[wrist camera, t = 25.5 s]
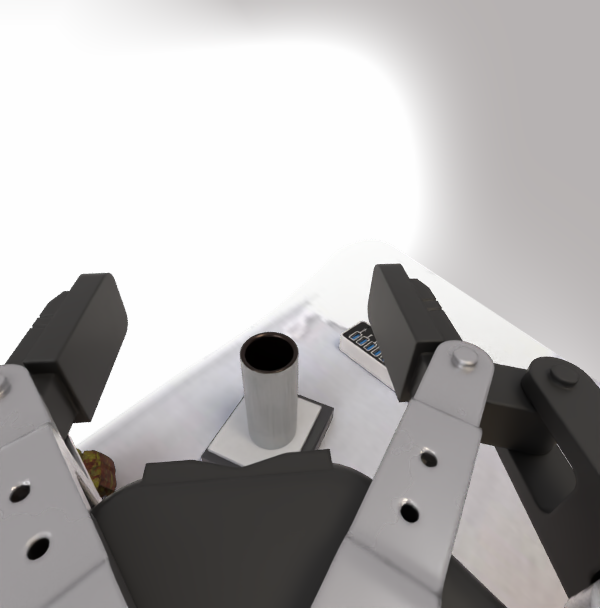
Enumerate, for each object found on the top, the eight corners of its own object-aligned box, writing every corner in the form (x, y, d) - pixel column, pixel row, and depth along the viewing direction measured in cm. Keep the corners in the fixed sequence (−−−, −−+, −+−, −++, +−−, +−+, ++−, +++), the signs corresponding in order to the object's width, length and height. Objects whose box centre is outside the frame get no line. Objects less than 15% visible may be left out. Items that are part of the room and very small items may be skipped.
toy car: (86, 430, 28) (96, 496, 26) (118, 452, 34) (129, 507, 31) (-105, 506, 25) (-115, 589, 22) (-34, 516, 30) (-35, 583, 28)
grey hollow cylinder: (306, 429, 35) (310, 352, 29) (269, 460, 32) (264, 383, 26) (275, 400, 37) (273, 323, 31) (238, 426, 35) (228, 349, 29)
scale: (291, 509, 31) (291, 497, 30) (203, 465, 34) (199, 453, 33) (332, 417, 38) (334, 404, 37) (257, 387, 41) (256, 375, 40)
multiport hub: (360, 332, 49) (362, 319, 47) (460, 401, 40) (467, 388, 39) (337, 348, 46) (338, 334, 45) (438, 424, 38) (444, 410, 37)
